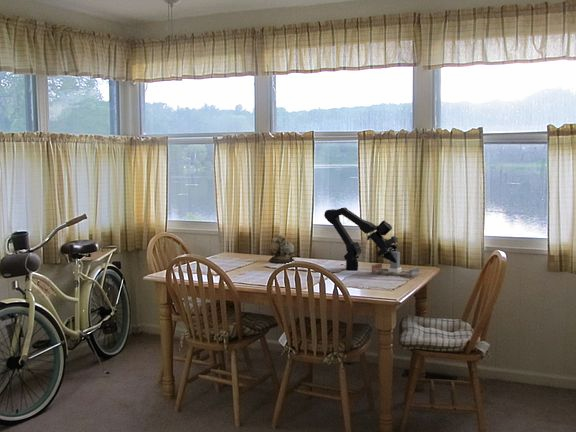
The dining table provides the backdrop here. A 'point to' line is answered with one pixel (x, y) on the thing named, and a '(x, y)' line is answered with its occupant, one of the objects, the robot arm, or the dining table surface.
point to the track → (411, 273)
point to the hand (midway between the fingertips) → (397, 262)
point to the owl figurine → (281, 250)
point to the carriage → (395, 266)
